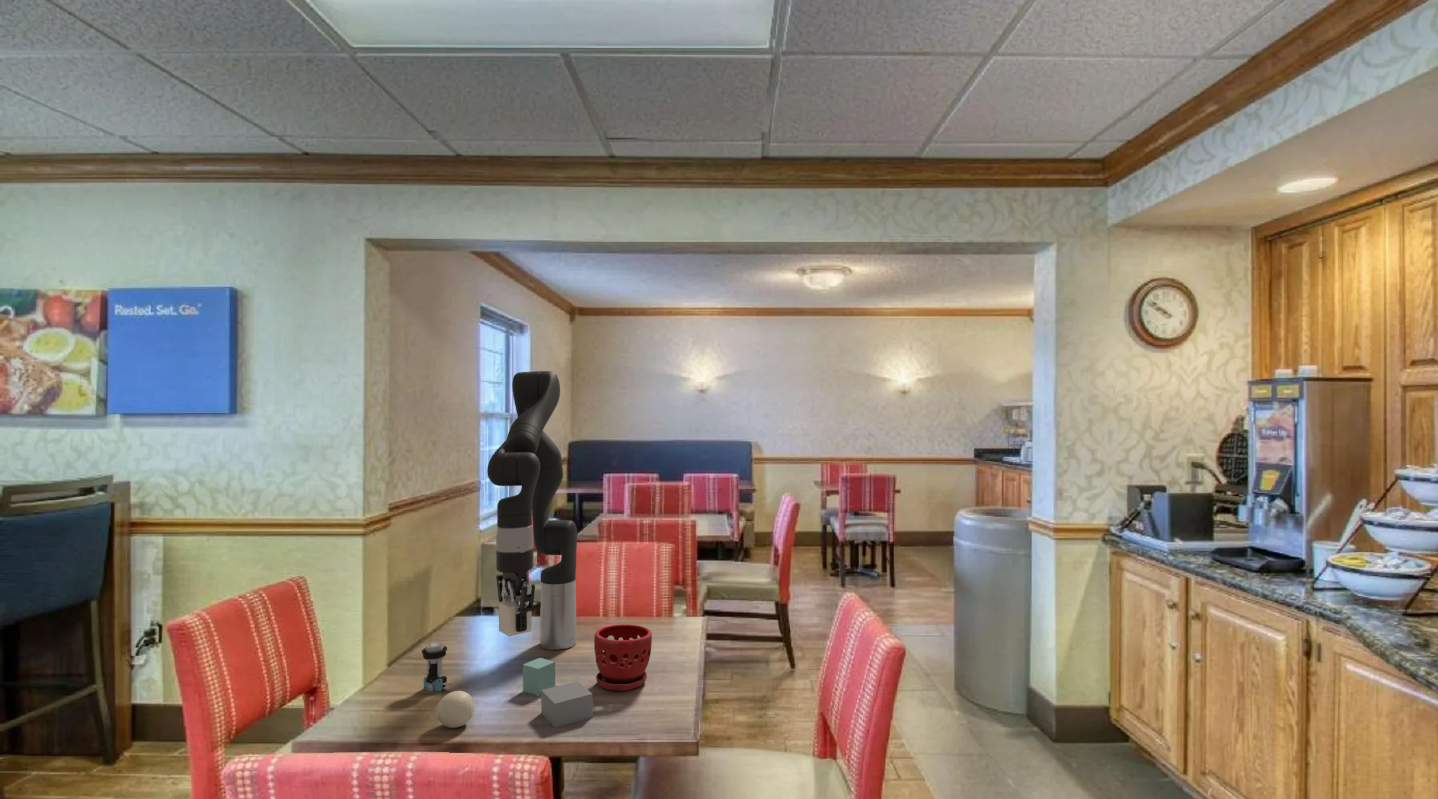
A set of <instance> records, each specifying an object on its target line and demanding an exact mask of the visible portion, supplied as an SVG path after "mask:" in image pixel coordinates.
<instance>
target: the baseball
mask: <svg viewBox="0 0 1438 799" xmlns="http://www.w3.org/2000/svg"><path fill="white" fill-rule="evenodd" d="M434 712H435V719H436V720H437V721H439V722H440V724H442V725H443V726H444V727H446V728H449V729H456V728H461V727H462V726H464V725H466V724H467V723H468V722H469V721H470V720H471V719H472V717H473V714H474V712H475V703H474V699H473V697H472V696H471V695H470V694H469V693H468V692H466V691H463V690H455V691H451V692H448V693H447V694H446V695H444V696H443V697H442V699H440V700H439V702H438V703H437V705H436V708H435V711H434Z"/></svg>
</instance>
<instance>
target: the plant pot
mask: <svg viewBox="0 0 1438 799" xmlns="http://www.w3.org/2000/svg"><path fill="white" fill-rule="evenodd" d="M610 636H612V637H613V639H611V638H609V637H610ZM638 636H639V638H638ZM593 639H594V640H593V642H594V643H593V645H594V646H593V647H594V654H595V664H596V667H597V669H598V672H597V674H596V675H595V679H596V682H597V684H598V685H599V686H600V687H602V688H603V689H605V690H611V691H629V690H633V689H635V688H638V687H640V686H642V685H643V684H644V683H645V681H646V680H647V678H648V673H647V672H646V670H647V668H648V665H649V662H650V659H651V653H652V646H653V645H652V644H653V642H652V641H653V633H652V631H651V630H650V629H649V628H648V627H645V626H643V625H639V624H638V625H637V624H628V623H625V624H622V623H621V624H610V625H606V626H603V627H599V629H597V630H596V631H595V633H594V638H593Z"/></svg>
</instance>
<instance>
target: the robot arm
mask: <svg viewBox="0 0 1438 799" xmlns="http://www.w3.org/2000/svg"><path fill="white" fill-rule="evenodd" d="M511 388H512V389H511V390H512V397H513V401H514V406H515V410H516V411H515V412H516V416H517V418H516V419H515V420H514V421H513V422H512V423H511V426H510V428H509V431H508V434H507V437H506V439H505V441H504V442H502V444H501V445H500V446H499V447H498V448H497V449H496V450H495V451H494V452H493V454H492V456H491V457H490V459H489V461H488V464H487V468H486V469H487V470H486V472H487V478H488V480H489V481H490V482H491V484H493V485H494V486H498V487H509V486H510V487H518V486H519V487H521V488H520V491H519V493H518V494H516V495H511V496H507V497H506V496H505V497H503V498H501V499H500V500H498V502H497V506H496V513H497V514H496V515H497V516H496V517H497V518H496V519H497V520H496V521H497V524H496V526H497V530H496V535H495V542H496V544H495V546H496V548H495V552H496V554H495V555H496V556H495V558H496V559H495V560H496V561H495V562H496V563H495V566H496V567H495V568H496V570H497V572H498V573H501V574H496V577H495V578H496V586H497V598H498V603H499V602H503V601H508V600H511V601H512V603H514V605H515V612H516V631H517V632H522V631H526V629H527V612H529V611H533V609H534V600H535V592H536V585H535V583H529V578H528V571H530V570H532V569H533V568H534V548H535V550H536V552H537V553H538V554H539V555H542V556H561V559H560V561H559V562H558V563H555V564H554V565H551V566H548V567H546V568H544V569H542V570H541V571H540V608H539V609H540V610H539V616H540V618H539V620H540V621H539V622H540V623H539V624H540V626H539V627H540V628H539V630H540V631H539V632H540V634H539V635H540V637H539V638H540V646H541V647H542V648H543V649H545V650H553V651H554V650H555V651H556V650H558V651H559V650H563V649H564V650H566V649H568V648H572V647H574V646H575V645H576V644H577V590H576V589H577V588H576V586H577V585H576V584H577V582H576V581H577V580H576V577H577V576H576V575H577V572H576V571H577V550H578V549H577V547H578V546H577V545H578V528H577V525H576V523H575V521H573V520H568V519H567V520H566V519H565V520H562V519H561V520H560V519H555V520H554V519H550V520H549V517H548V516H549V515H548V512H549V511H548V510H549V507H550V504H551V502H552V500H553V498H554V497H555V494H556V493H557V492H558V490H559V488H560V486H561V483H562V481H563V479H564V469H563V461H562V454H561V451H560V449H559V447H558V446H557V445H556V444H555V443H554V441H553V440H552V438H551V437H550V436H549V435H548V434H547V433H546V432H545V431H544V429H545V426H546V425H547V423H548V421H549V420H550V418H551V416H553V413H554V411H555V410H556V407H557V406H558V403H559V400H560V398H561V396H560V395H561V384H560V379H559V376H558V375H557V373H555V372H554V371H552V370H536V371H520V372H516V373H515V374H514V376H513V378H512V386H511ZM519 602H520V607H519ZM528 602H529V604H528Z"/></svg>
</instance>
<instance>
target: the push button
mask: <svg viewBox="0 0 1438 799" xmlns="http://www.w3.org/2000/svg"><path fill="white" fill-rule="evenodd" d="M447 651H448V647H447V646H446V645H444V643H443V642H440V641H439V642H431V643H428V644H426V645H425V648H422V649H421V654H422V657H423V659H425V660H426V673H425V677H424V678H423V690H426V691H428V692H441V691H444V690H445V689H446V690H450V689H451V687H450V685H451V684H452V683H451V682H448V680H447V679H448V678H447V675H444V674H443V658H444V657H445V656H447Z"/></svg>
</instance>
